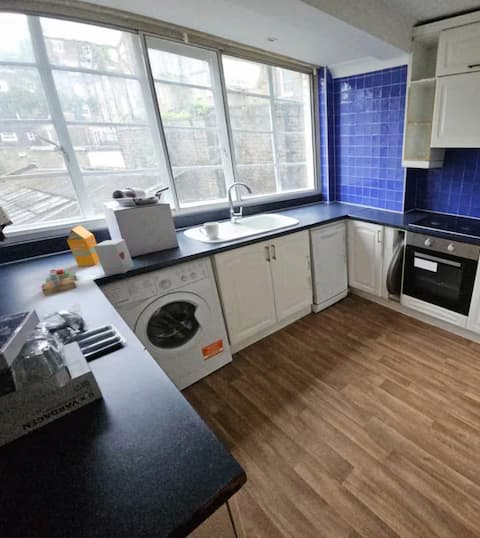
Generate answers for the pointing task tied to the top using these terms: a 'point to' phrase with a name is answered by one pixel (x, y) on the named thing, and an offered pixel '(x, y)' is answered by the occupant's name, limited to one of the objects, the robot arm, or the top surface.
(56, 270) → the button
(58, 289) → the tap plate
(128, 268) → the white product box
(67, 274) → the button box
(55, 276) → the grey tan flat block
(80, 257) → the orange juice
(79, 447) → the top surface
